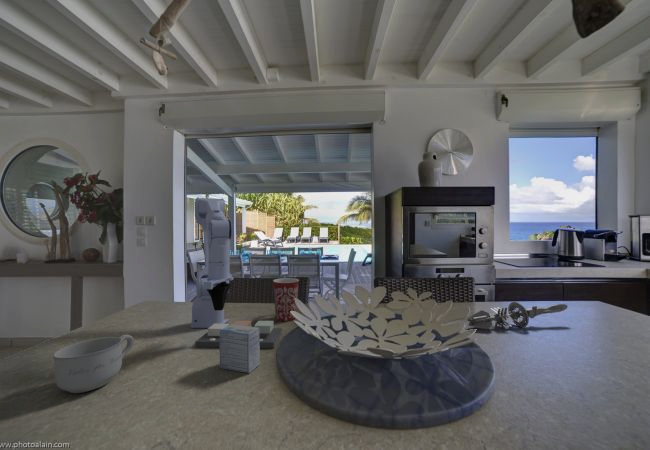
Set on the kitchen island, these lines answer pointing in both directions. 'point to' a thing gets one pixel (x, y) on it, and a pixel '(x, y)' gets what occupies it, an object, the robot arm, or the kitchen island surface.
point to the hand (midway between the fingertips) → (218, 309)
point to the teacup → (89, 363)
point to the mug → (285, 298)
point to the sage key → (265, 326)
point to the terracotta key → (242, 323)
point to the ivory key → (216, 329)
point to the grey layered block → (239, 348)
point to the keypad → (264, 339)
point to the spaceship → (511, 315)
